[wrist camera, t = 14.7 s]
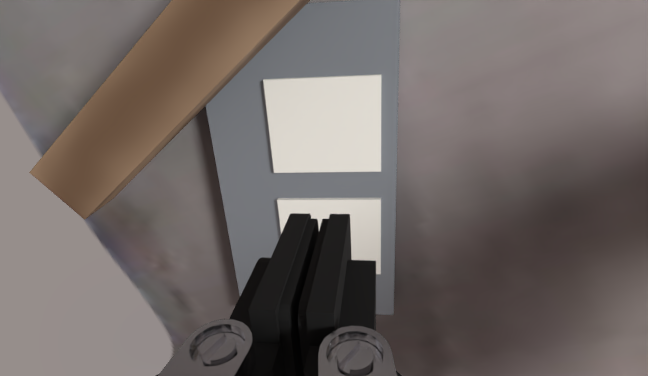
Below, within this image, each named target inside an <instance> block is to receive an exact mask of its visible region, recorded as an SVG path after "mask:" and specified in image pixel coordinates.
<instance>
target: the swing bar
mask: <svg viewBox="0 0 648 376" xmlns="http://www.w3.org/2000/svg"><path fill="white" fill-rule="evenodd" d="M309 1H310V0H172V1H171V2H170V3H169V4H168V6H167V7H166V8H165V9H164V10H163V12H162V13H161V14H160V15H159V16H158V18H157V19H156V20H155V21H154V22H153V24H152V25H151V26H150V27H149V29H148V30H147V31H146V32H145V33H144V35H143V36H142V37H141V38H140V39H139V41H138V42H137V43H136V44H135V45H134V47H133V48H132V49H131V50H130V51H129V53H128V54H127V55H126V56H125V58H124V59H123V60H122V61H121V62H120V64H119V65H118V66H117V67H116V68H115V70H114V71H113V72H112V73H111V74H110V76H109V77H108V78H107V79H106V81H105V82H104V83H103V84H102V85H101V87H100V88H99V89H98V90H97V91H96V93H95V94H94V95H93V96H92V97H91V99H90V100H89V101H88V102H87V103H86V105H85V106H84V107H83V108H82V110H81V111H80V112H79V113H78V114H77V116H76V117H75V118H74V119H73V120H72V122H71V123H70V124H69V125H68V126H67V128H66V129H65V130H64V131H63V132H62V134H61V135H60V136H59V137H58V139H57V140H56V141H55V142H54V143H53V145H52V146H51V147H50V148H49V149H48V151H47V152H46V153H45V154H44V155H43V157H42V158H41V159H40V160H39V162H38V163H37V164H36V165H35V166H34V168H33V169H32V170H31V171H30V173H31V174H32V175H33V176H34V177H35V178H37V179H38V180H39V181H40V182H41V183H42V184H44V185H45V186H46V187H47V188H48V189H49V190H51V191H52V192H53V193H54V194H55V195H56V196H58V197H59V198H60V199H61V200H62V201H63V202H65V203H66V204H67V205H68V206H69V207H71V208H72V209H73V210H74V211H75V212H76V213H78V214H79V215H80V216H81V217H82V218H83V219H86V218H88V217H89V216H90V215H92V214H93V213H94V212H96V211H97V210H98V209H100V208H101V207H102V206H104V205H105V204H106V203H108V202H109V201H110V200H112V199H113V198H114V197H115V196H116V195H117V194H118V193H119V192H120V191H121V190H122V189H123V188H124V187H125V186H126V185H127V184H128V183H129V182H130V181H131V180H132V179H133V178H134V177H135V176H136V175H137V174H138V173H139V172H140V171H141V170H142V169H143V168H144V167H145V166H146V165H147V164H148V163H149V162H150V161H151V160H152V159H153V158H154V157H155V156H156V155H157V154H158V153H159V152H160V151H161V150H162V149H163V148H164V147H165V146H166V145H167V144H168V143H169V142H170V141H171V140H172V139H173V138H174V137H175V136H176V135H177V134H178V133H179V132H180V131H181V130H182V129H183V128H184V127H185V126H186V125H187V124H188V123H189V122H190V121H191V120H192V119H193V118H194V117H195V116H196V115H197V114H198V113H199V112H200V111H201V110H202V109H203V108H204V107H205V106H206V105H207V104H208V103H209V102H210V101H211V100H212V99H213V98H214V97H215V96H216V95H217V94H218V93H219V92H220V91H221V90H222V88H223V87H224V86H225V85H226V84H227V83H228V82H229V81H230V80H231V79H232V78H233V77H234V76H235V75H236V74H237V73H238V72H239V71H240V70H241V69H242V68H243V67H244V66H245V65H246V64H247V63H248V62H249V61H250V60H251V59H252V58H253V57H254V56H255V55H256V54H257V53H258V52H259V51H260V50H261V49H262V48H263V47H264V46H265V45H266V44H267V43H268V42H269V41H270V40H271V39H272V38H273V37H274V36H275V35H276V34H277V33H278V32H279V31H280V30H281V29H282V28H283V27H284V26H285V25H286V24H287V23H288V22H289V21H290V20H291V19H292V18H293V17H294V16H295V15H296V14H297V13H298V12H299V11H300V10H301V9H302V8H303V7H304V6H305V5H306V4H307V3H308V2H309Z"/></svg>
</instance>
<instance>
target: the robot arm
mask: <svg viewBox="0 0 648 376" xmlns="http://www.w3.org/2000/svg"><path fill="white" fill-rule="evenodd" d="M156 376H402V375H400V374H399V373H398V372H397V371H396V368H395V364H394V359H393V355H392V350H391V348H390V346H389V343H388V341H387V340H386V339H385V338H384V337H383V336H382V335H381V334H379V333H378V332H376V261H371V260H352V258H351V228H350V214H330V216H329V219H322V222H321V226H320V230H319V227H318V220H317V219H311V215H310V214H301V213H291V214H290V215H289V218H288V220H287V222H286V224H285V227H284V229H283V231H282V234H281V236H280V238H279V240H278V243H277V245H276V247H275V250H274V252H273V254H272V257H271V258H265V257H261V258H259V260H258V261H257V263H256V265H255V267H254V269H253V271H252V273H251V275H250V277H249V279H248V281H247V284H246V286H245V288H244V290H243V292H242V294H241V296H240V298H239V300H238V302H237V304H236V306H235V308H234V310H233V312H232V315H231V317H230V319H222V320H216V321H212V322H210V323H207V324H205V325H203V326H201V327H200V328H198V329H197V330H195V331H194V332H193V333H192V334H191V335H190V336H189V337H188V338H187V339H186V340H185V342H184V343H183V344H182V346H181V347H180V348H179V349H178V351H177V352H176V353H175V355H174V356H173V357H172V358H171V360H170V361H169V362H168V364H167V365H166V366H165V367H164V369H163V370H162V371H161V373H160V374H158V375H156Z"/></svg>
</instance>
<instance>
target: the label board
mask: <svg viewBox="0 0 648 376" xmlns="http://www.w3.org/2000/svg"><path fill="white" fill-rule="evenodd" d="M399 32H400V0H350V1H334V2H319V3H307V4H306V5H305V6H304V7H303V8H302V9H301V10H300V11H299V12H298V13H297V14H296V15H295V16H294V17H293V18H292V19H291V20H290V21H289V22H288V23H287V24H286V25H285V26H284V27H283V28H282V29H281V30H280V31H279V32H278V33H277V34H276V35H275V36H274V37H273V38H272V39H271V40H270V41H269V42H268V43H267V44H266V45H265V46H264V47H263V48H262V49H261V50H260V51H259V52H258V53H257V54H256V55H255V56H254V57H253V58H252V59H251V60H250V61H249V62H248V63H247V64H246V65H245V66H244V67H243V68H242V69H241V70H240V71H239V72H238V73H237V74H236V75H235V76H234V77H233V78H232V79H231V80H230V81H229V82H228V83H227V84H226V85H225V86H224V87H223V88H222V90H221V91H220V92H219V93H218V94H217V95H216V96H215V97H214V98H213V99H212V100H211V101H210V102H209V103H208V104H207V105H206V111H207V117H208V122H209V128H210V133H211V139H212V144H213V150H214V156H215V161H216V167H217V172H218V178H219V183H220V189H221V194H222V200H223V206H224V211H225V217H226V222H227V228H228V233H229V239H230V244H231V250H232V256H233V261H234V267H235V272H236V278H237V283H238V289H239V294H240V296H241V294H242V292H243V290H244V288H245V286H246V284H247V281H248V279H249V277H250V275H251V273H252V271H253V269H254V267H255V265H256V263H257V261H258V260H259V258H261V257H265V258H271V257H272V254H273V252H274V250H275V247H276V245H277V243H278V240H279V238H280V236H281V234H282V231H283V229H284V227H285V224H286V222H287V220H288V218H289V215H290V214H291V213H301V214H310V215H311V219H317V220H318V227H319V230H320V226H321V222H322V219H329V216H330V214H350V228H351V258H352V260H371V261H376V314H380V315H394V273H395V225H396V177H397V129H398V80H399Z"/></svg>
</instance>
